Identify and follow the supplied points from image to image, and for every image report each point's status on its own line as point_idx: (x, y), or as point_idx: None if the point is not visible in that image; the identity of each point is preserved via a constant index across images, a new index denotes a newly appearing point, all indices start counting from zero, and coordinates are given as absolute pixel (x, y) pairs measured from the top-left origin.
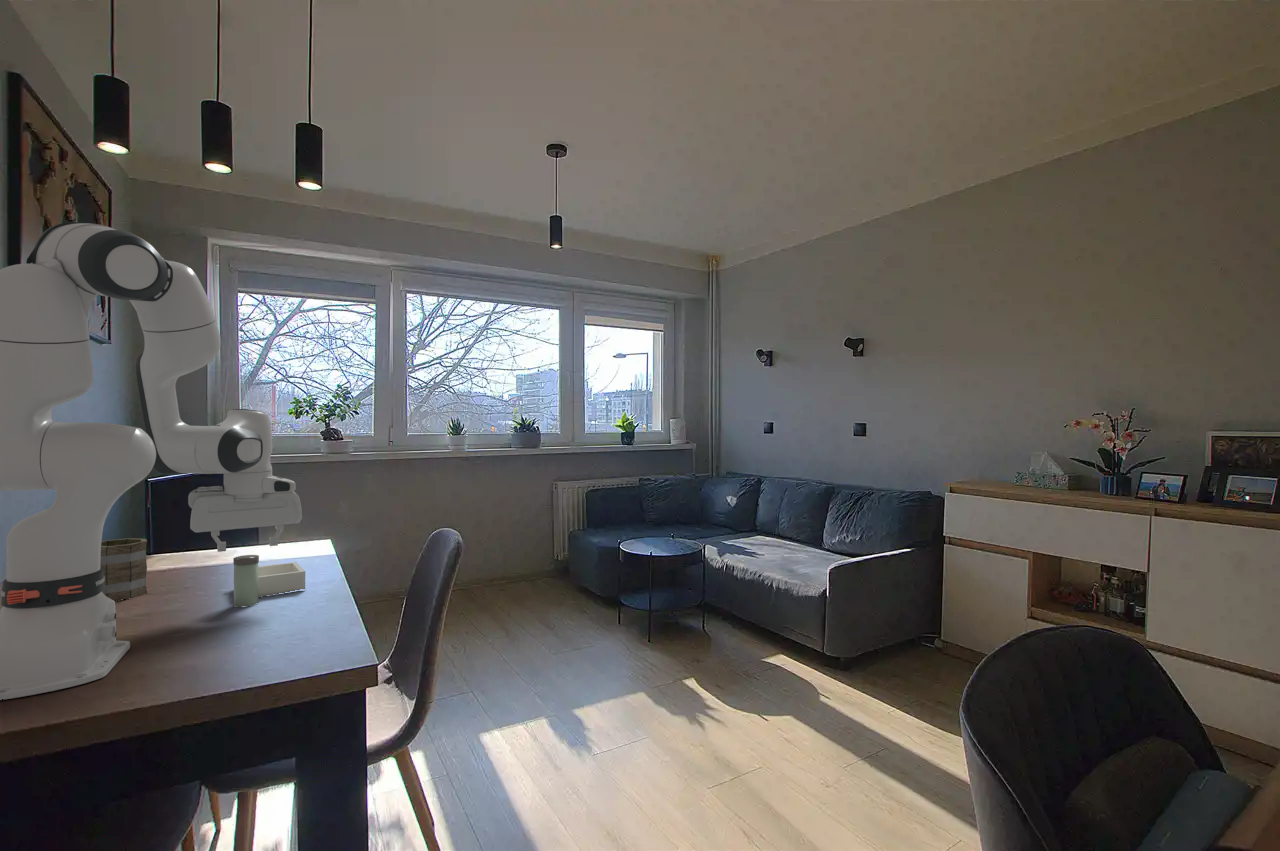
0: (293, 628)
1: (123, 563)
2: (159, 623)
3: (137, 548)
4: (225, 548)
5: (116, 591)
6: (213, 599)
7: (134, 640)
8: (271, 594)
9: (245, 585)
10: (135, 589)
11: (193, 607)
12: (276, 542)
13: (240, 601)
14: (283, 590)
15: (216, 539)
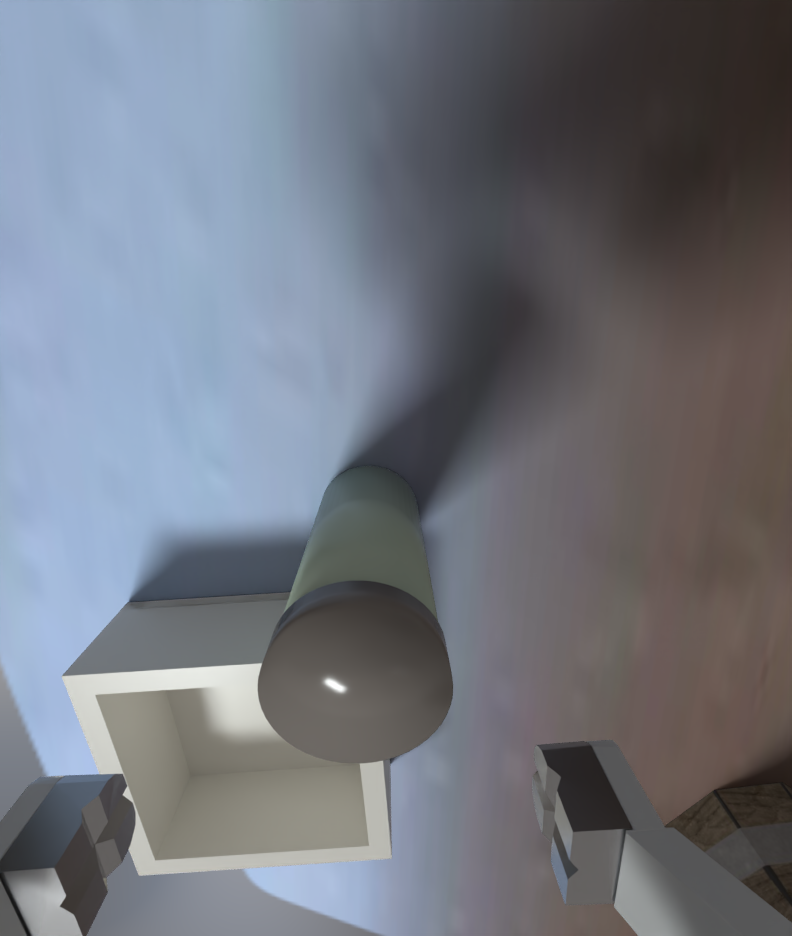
0: None
1: None
2: (703, 394)
3: None
4: (553, 763)
5: (781, 825)
6: (481, 656)
7: None
8: (265, 598)
9: (369, 509)
10: (718, 835)
11: (558, 577)
12: (27, 806)
13: (392, 481)
14: (212, 608)
15: (727, 898)
